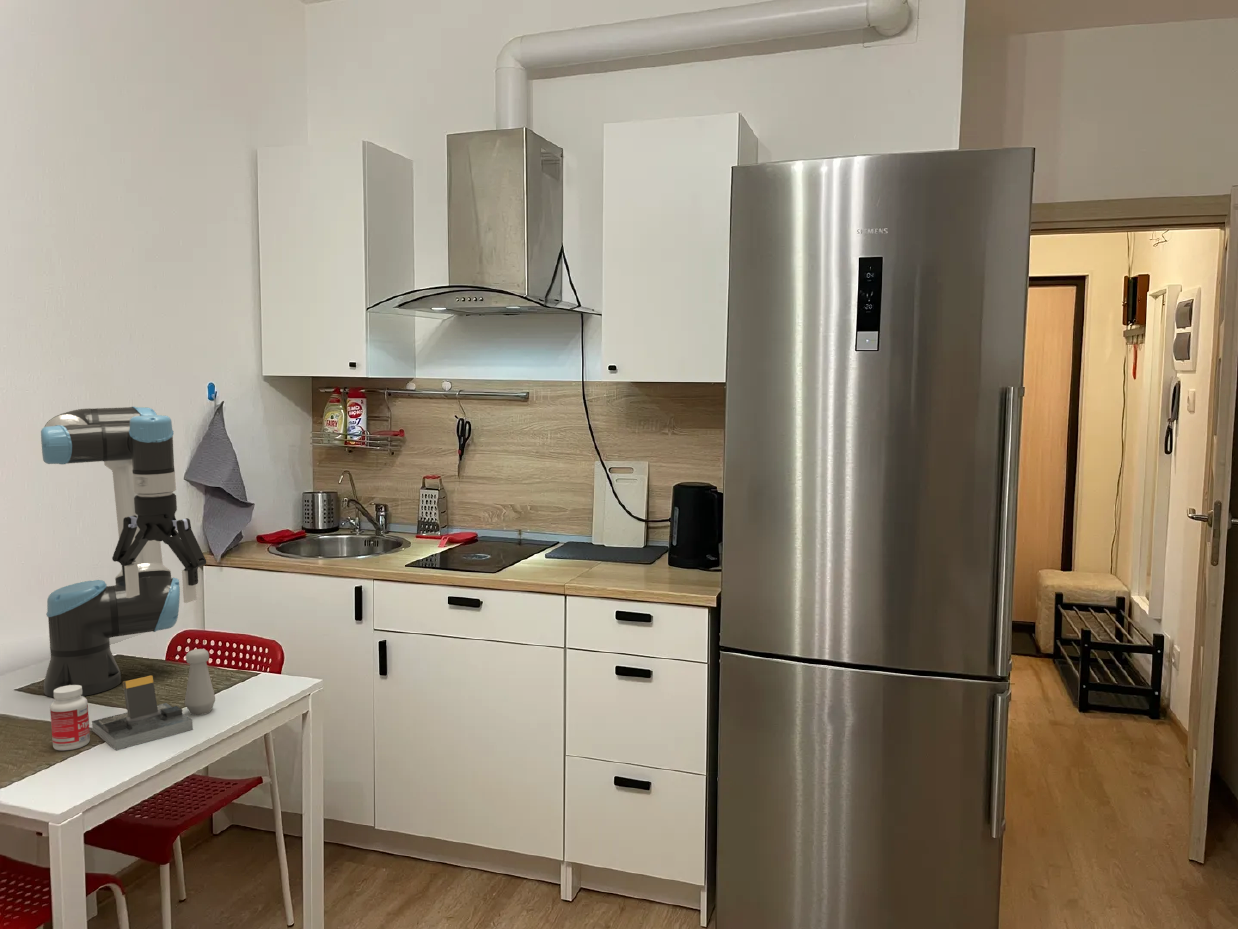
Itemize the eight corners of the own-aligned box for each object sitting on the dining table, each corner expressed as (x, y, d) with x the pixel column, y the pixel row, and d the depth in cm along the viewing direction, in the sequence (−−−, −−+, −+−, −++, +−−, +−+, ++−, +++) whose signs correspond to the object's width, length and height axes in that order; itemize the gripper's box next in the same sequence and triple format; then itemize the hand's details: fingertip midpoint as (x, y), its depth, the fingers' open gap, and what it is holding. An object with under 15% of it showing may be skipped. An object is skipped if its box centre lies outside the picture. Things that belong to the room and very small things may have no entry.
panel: (92, 731, 186) (91, 716, 186) (166, 712, 196) (165, 698, 196) (116, 750, 176) (115, 734, 176) (192, 729, 186) (191, 714, 186)
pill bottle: (84, 749, 177) (80, 692, 176) (48, 753, 176) (43, 695, 174) (94, 737, 183) (90, 682, 182) (59, 740, 182) (55, 684, 181)
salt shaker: (204, 717, 193) (200, 655, 191) (179, 716, 194) (175, 654, 193) (221, 707, 198) (218, 647, 197) (197, 706, 200) (193, 646, 198)
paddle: (126, 724, 184) (119, 682, 184) (158, 715, 188) (152, 675, 189) (128, 724, 183) (122, 682, 183) (161, 715, 187) (155, 674, 187)
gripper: (88, 494, 186) (95, 599, 189) (195, 499, 180) (201, 608, 182) (117, 488, 193) (123, 589, 196) (221, 493, 187) (227, 598, 190)
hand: (161, 598), depth 189 cm, fingers open, 13 cm apart
